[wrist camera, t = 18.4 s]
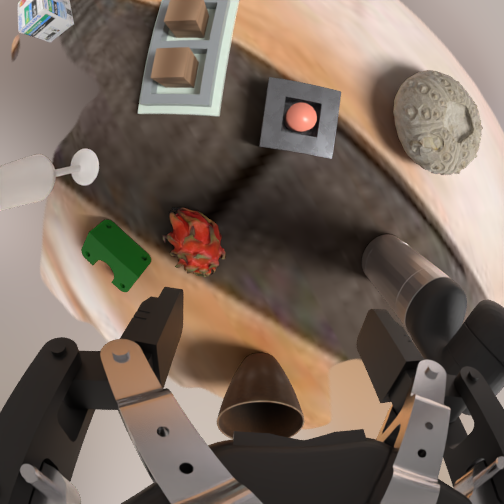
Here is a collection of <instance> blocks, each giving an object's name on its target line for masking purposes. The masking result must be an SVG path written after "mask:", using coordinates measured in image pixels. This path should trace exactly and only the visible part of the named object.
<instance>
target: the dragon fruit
mask: <svg viewBox="0 0 504 504" xmlns="http://www.w3.org/2000/svg"><path fill="white" fill-rule="evenodd" d="M172 210H176V212H178V213H177V214H176V215H175V212H172V211H170V212H169V213H170V215H169V218H170V222H171V224H172V227H173V232H170V233H169V234H168V235H163V240H164V242H165V241H166V239H167V240H168V241H169V242H170V243H171V244H172V245H174V247H175V248H174V250H172V251H171V252H170V254H171V256H172V257H174V256H177V257H178V264H177V265H176V266H175V267H176V268H179V267H181V266H182V265H184V269H185V271H186V270H187V273H191V272H193V273H194V274H195V275H196V276H203V277H207V276H209V275H210V274H211V269H212V271H213V273H214V272H215V271H216V267H217V266H219V262H218V261H219V257H221V259H226V252H225V251H224V249H223V248H221V246H220V241H221V238H222V236H221V233H220V232H219V229H218V226H217V224H216V223H215V222H213V221H212V220H210V219H209V218H207V217H206V216H205V215H203V214H202V213H201V212H200V211H199V210H196V211H192V210H189V209H186V208H184V207H177V208H175V207H172ZM174 253H175V254H174ZM176 254H177V255H176ZM213 273H212V274H213ZM205 274H206V275H207V276H206V275H205Z"/></svg>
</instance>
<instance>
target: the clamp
mask: <svg viewBox="0 0 504 504" xmlns="http://www.w3.org/2000/svg"><path fill="white" fill-rule="evenodd" d="M82 254H83V256H84V257H85V259H87V260H88V261H89V262H90V263H91V264H92V265H94V264H95V263H96V262H97V261H98V260H101V261H104V262H105V263H107V264H108V265H109V266H110V268H111V269H112V271H113V273H114V280H113V281H112V282H111V283H113V284H114V285H115V286H116V287H117V288H118V289H119V290H121V291H123V292H128V291H129V290H130V288H131V287H132V286H133V284H134V283H135V282H136V281H137V279H138V278H139V277H140V275H141V274H142V273H143V272H144V270H145V269H146V268H147V267H148V265H149V264H150V263H151V257H150V255H149V254H148V253H147V252H146V251H144V250H143V249H142V248H141V247H140V246H139V245H138V244H137V243H135V242H134V241H133V240H132V239H131V238H130V237H129V236H128V235H127V234H126V233H124V232H123V231H122V230H121V229H120V228H119V227H118V226H117V225H116V224H115V223H114V222H113V221H111V220H104V221H102V222H101V223H100V224H99V225H97V226H96V227H95V228H94V229H92V230H91V231H90V232H89V233H88V236H87V238H86V240H85V242H84V245H83V247H82Z"/></svg>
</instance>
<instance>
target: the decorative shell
mask: <svg viewBox="0 0 504 504" xmlns="http://www.w3.org/2000/svg"><path fill="white" fill-rule="evenodd" d="M393 114H394V117H395V118H394V120H395V126H396V130H397V134H398V138H399V140H400V142H401V144H402V146H403V148H404V150H405V152H406V153H407V155H408V156H409V157H410V158H411V159H412V160H413V161H414V162H416V163H417V164H419V165H420V166H421V167H422V168H423V169H425V170H428V171H429V172H431V173H434V174H441V175H451V174H453V173H455V174H460V171H461V170H462V169H464V168H466V166H467V165H468V164H469V163H470V162H471V161H472V160H473V159H474V158H476V157H477V155H476V153H477V151H478V148H479V143H480V140H481V138H480V137H481V130H482V129H483V127H482V126H481V120H480V116H479V112H478V109H477V105H475V102H474V101H473V100H472V98H471V97H470V96H469V94H468V93H467V91H466V90H465V89H464V88H463V86H461V85H460V83H459V82H458V81H456V80H454V79H453V78H452V77H450V76H448V75H445V74H442V73H440V72H437V71H431V70H427V71H423V72H419V73H416V74H414V75H413V76H411V77H409V78H407V80H406V81H405V82H404V83H403V84H402V85H401V86H400V88H399V90H398V92H397V94H396V97H395V100H394V110H393Z"/></svg>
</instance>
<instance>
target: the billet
mask: <svg viewBox="0 0 504 504" xmlns="http://www.w3.org/2000/svg"><path fill="white" fill-rule="evenodd" d="M198 64H199V61H198V60H197V58H196V57H195V55H194V54H193V52H192V51H191V49H190V48H189V47H176V48H157V49H156V53H155V58H154V63H153V68H152V73H151V78H152V79H153V80H155V81H156V82H158V83H160V84H161V85H163V86H164V87H166V88H195V82H196V76H197V70H198Z"/></svg>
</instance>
